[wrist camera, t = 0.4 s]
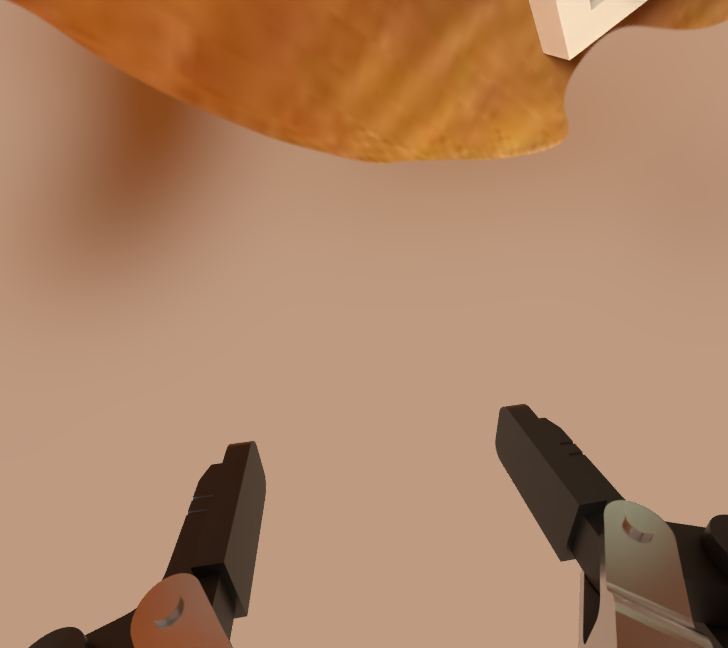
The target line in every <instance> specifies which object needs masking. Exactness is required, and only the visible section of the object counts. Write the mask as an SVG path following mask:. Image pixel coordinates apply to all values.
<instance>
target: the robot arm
mask: <svg viewBox="0 0 728 648" xmlns="http://www.w3.org/2000/svg"><path fill="white" fill-rule="evenodd" d="M496 450H497V454H498V457H499V459H500V461H501V463H502V464H503V466H504V467H505V469H506V471H507V473H508V474H509V476H510V477H511V479H512V481H513V483H514V484H515V486H516V487H517V489H518V491H519V493H520V494H521V496H522V498H523V499H524V501H525V503H526V504H527V506H528V508H529V509H530V511H531V513H532V514H533V516H534V518H535V519H536V521H537V522H538V524H539V526H540V528H541V529H542V531H543V533H544V534H545V536H546V538H547V539H548V541H549V543H550V544H551V546H552V548H553V549H554V551H555V553H556V554H557V556H558V558H559V559H560V561H567V560H572V559H576V560H577V561H578V563H579V565H580V566H581V568H582V571H581V574H580V605H579V642H578V648H728V515H718V516H715V517H713V518H712V519H711V520H710V522H709V524H708V525H707V527H706V528H703V527H697V526H691V525H684V524H677V523H671V522H666V521H664V520H663V519H662V518H661V517H659V516H658V515H657V514H656V513H654V512H653V511H651V510H650V509H648V508H646V507H644V506H642V505H640V504H637V503H634V502H631V501H626V500H625V499H624V498H623V497H622V496H621V495H620V494H619V493H618V492H617V490H616V489H615V488H614V487H613V486H612V485H611V484H610V483H609V481H608V480H607V479H606V478H605V477H604V476H603V475H602V474H601V473H600V471H599V470H598V469H597V468H596V467H595V466H594V465H593V464H592V462H591V461H590V460H589V459H588V458H587V457H586V456H585V455H583V454H582V451H581V450H580V449H579V448H578V447H577V446H576V445H575V444H573V442H572V440H571V439H570V438H569V437H568V436H567V435H566V433H565V432H564V431H563V430H562V429H561V428H560V427H558V426H557V425H555V424H554V423H552V422H551V421H549V420H548V419H546V418H538V417H537V416H536V415H535V413H534V412H533V411H532V410H531V409H530V408H529V406H527V405H525V404H520V405H513V406H506V407H502V408H501V409H500V412H499V419H498V426H497V433H496ZM265 494H266V480H265V474H264V470H263V467H262V463H261V460H260V456H259V453H258V449H257V446H256V443H255V442H254V441H250V442H243V443H236V444H230V445H229V446H228V447H227V450H226V453H225V456H224V460H223V463H220V464H214V465H211V466H210V467H209V469H208V470H207V471H206V472H205V474H204V475H203V476H202V477H201V479H200V480H199V482H198V485H197V488H196V491H195V493H194V496H193V501H192V502H191V505H190V507H189V510H188V515H187V516H186V518H185V521H184V524H183V527H182V529H181V532H180V535H179V538H178V540H177V543H176V546H175V549H174V552H173V554H172V557H171V560H170V563H169V565H168V568H167V571H166V573H165V575H164V577H163V579H162V581H161V582H159V583H158V584H156V585H155V586H154V587H153V588H152V589H151V590H150V591H149V592H148V593H147V594H146V595H145V597H144V598H143V599H142V601H141V602H140V604H139V605H138V607H137V608H136V609H134V610H133V611H132V612H130V613H128V614H127V615H125V616H123V617H121V618H119V619H117V620H115V621H113V622H111V623H109V624H107V625H105V626H103V627H101V628H99V629H97V630H95V631H93V632H91V633H89V634H87V635H84V634H83V633H82V632H81V631H80V630H79V629H77V628H74V627H65V628H61V629H58V630H55V631H53V632H51V633H49V634H47V635H45V636H44V637H42V638H40V639H39V640H38V641H37V642H35V643H34V644H32V645H31V646H30V647H29V648H233V647H232V645H231V643H230V636H231V630H232V625H233V619H234V618H239V617H245V616H247V614H248V607H249V600H250V593H251V587H252V581H253V574H254V567H255V560H256V554H257V548H258V541H259V534H260V528H261V521H262V515H263V508H264V501H265Z"/></svg>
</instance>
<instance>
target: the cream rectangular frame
mask: <svg viewBox="0 0 728 648" xmlns="http://www.w3.org/2000/svg"><path fill="white" fill-rule="evenodd" d="M646 1H647V0H529V3H530V7H531V10H532V14H533V17H534V21H535V25H536V28H537V32H538V35H539V39H540V43H541V46H542V50H543V53H545V54H548V55H552V56H556V57H559V58H563V59H566V60H571V59H572V58H573V57H575V56H576V55H577V54H579V53H580V52H581V51H583V50H584V49H585V48H586V47H588V46H589V45H590V44H592V43H593V42H594V41H595V40H597V39H598V38H599V37H601V36H602V35H603V34H605V33H606V32H607V31H608V30H610V29H611V28H612V27H614V26H615V25H616V24H617V23H619V22H620V21H621V20H623V19H624V18H625V17H627V16H628V15H629V14H630V13H632V12H633V11H634V10H636V9H637V8H638V7H640V6H641V5H642V4H643V3H645V2H646Z"/></svg>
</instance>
